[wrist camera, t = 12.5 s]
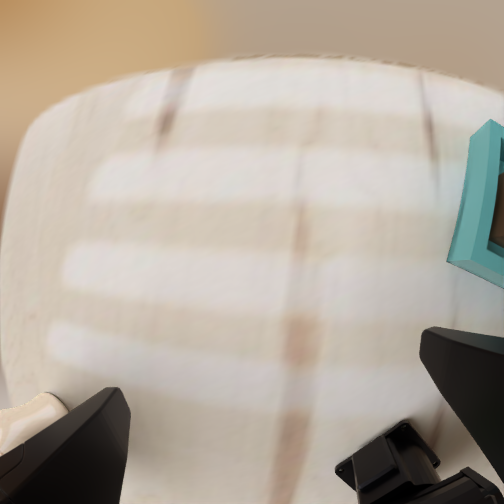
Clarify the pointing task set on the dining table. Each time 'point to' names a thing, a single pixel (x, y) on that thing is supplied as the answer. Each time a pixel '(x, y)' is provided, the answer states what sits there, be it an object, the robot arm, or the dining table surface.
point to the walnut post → (498, 215)
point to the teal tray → (480, 207)
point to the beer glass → (28, 420)
